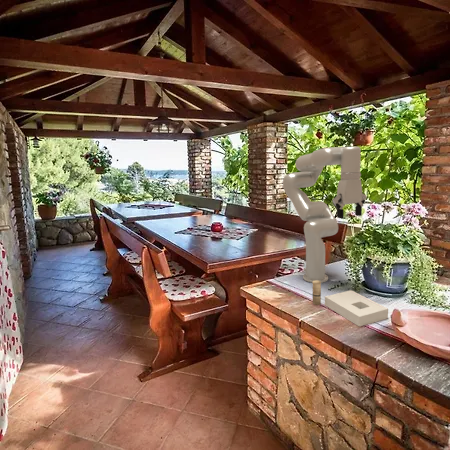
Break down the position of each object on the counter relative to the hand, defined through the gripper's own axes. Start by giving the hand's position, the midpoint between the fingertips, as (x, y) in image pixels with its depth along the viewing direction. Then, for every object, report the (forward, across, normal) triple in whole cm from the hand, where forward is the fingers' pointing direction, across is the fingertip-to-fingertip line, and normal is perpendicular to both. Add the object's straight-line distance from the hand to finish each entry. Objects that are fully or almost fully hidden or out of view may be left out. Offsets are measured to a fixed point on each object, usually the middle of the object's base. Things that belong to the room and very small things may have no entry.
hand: (349, 216), depth 139 cm
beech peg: (+36, +17, 0) cm, 40 cm away
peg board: (+36, +8, +13) cm, 40 cm away
